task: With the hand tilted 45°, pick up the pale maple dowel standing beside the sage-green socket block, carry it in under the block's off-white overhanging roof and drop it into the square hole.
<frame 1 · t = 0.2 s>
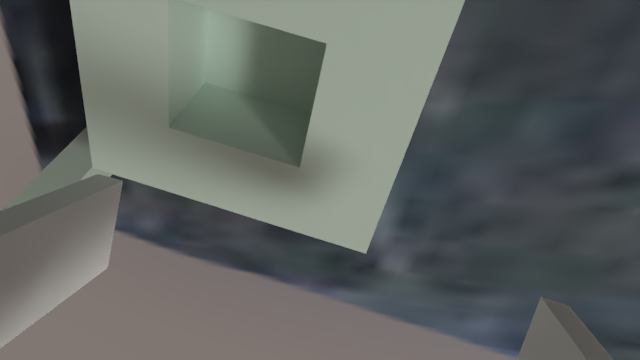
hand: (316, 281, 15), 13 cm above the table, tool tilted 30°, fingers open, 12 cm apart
socket: (276, 35, 25), on the table
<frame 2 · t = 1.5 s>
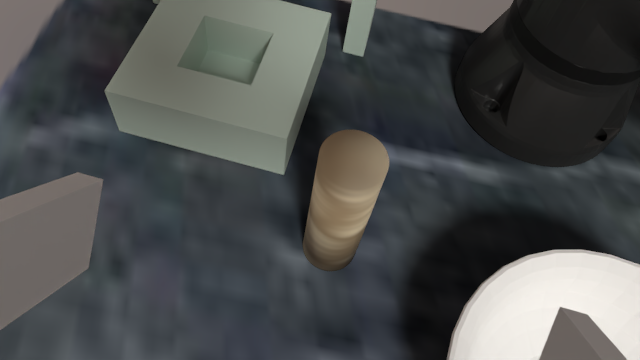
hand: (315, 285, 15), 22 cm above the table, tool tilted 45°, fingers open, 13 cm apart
socket: (229, 90, 47), on the table
dowel: (329, 246, 40), on the table
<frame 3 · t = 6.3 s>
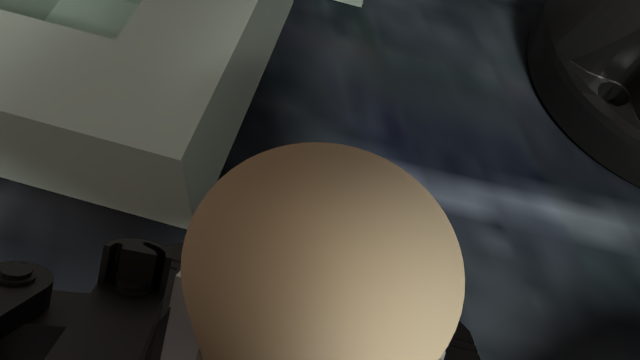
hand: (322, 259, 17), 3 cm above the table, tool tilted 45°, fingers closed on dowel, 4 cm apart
socket: (106, 60, 24), on the table
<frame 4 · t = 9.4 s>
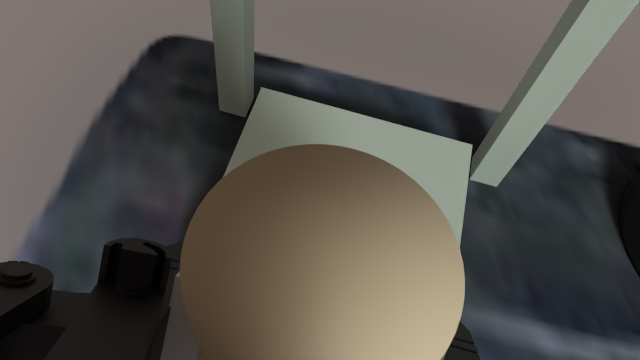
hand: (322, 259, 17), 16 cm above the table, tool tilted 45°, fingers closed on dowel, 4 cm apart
socket: (330, 243, 34), on the table
when the fingers open (7 cm above the table, at t = 12.8 s): dowel drops 3 cm, resting on socket.
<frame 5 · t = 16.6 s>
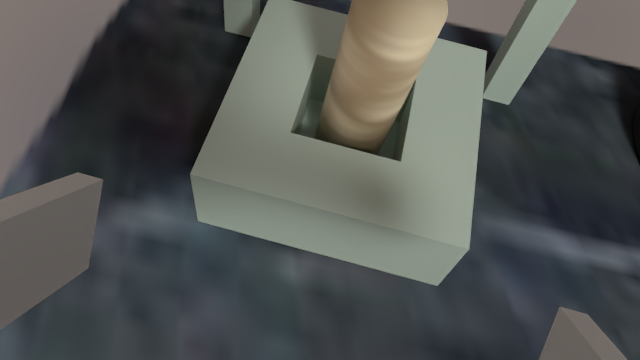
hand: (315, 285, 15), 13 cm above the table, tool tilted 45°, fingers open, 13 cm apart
socket: (342, 155, 34), on the table
dowel: (345, 145, 33), point 1 cm above the table, tilted 5°, touching socket
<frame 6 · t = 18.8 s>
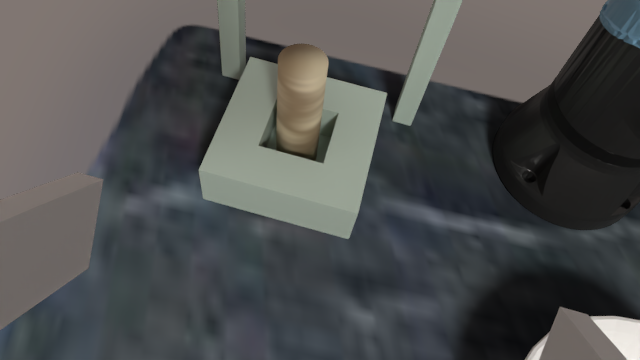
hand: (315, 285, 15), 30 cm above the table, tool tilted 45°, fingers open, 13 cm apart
socket: (295, 159, 53), on the table
dowel: (296, 153, 52), point 1 cm above the table, touching socket
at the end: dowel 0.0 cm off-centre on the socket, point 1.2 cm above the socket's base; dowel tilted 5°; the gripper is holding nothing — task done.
